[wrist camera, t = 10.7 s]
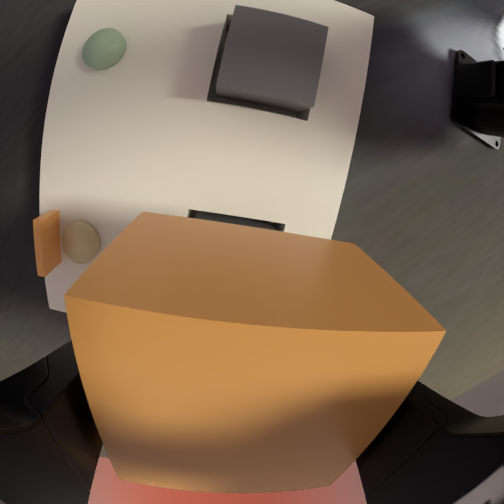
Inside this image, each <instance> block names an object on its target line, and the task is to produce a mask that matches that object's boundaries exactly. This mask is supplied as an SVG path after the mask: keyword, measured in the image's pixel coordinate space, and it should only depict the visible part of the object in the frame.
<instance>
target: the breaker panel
mask: <svg viewBox="0 0 504 504" xmlns="http://www.w3.org/2000/svg"><path fill="white" fill-rule="evenodd" d="M236 5H240V6H247V7H252V8H258V9H263V10H268V11H273V12H277V13H281V14H286V15H290V16H293V17H297V18H301V19H304V20H308V21H311V22H315V23H318V24H321V25H324V26H327V27H329V28H328V34H327V40H326V45H325V51H324V57H323V62H322V68H321V73H320V78H319V84H318V89H317V94H316V99H315V104H314V107H313V108H309V109H306V110H304V111H301V112H298V113H294V112H290V111H286V110H281V109H277V108H272V107H267V106H263V105H258V104H252V103H247V102H242V101H236V100H230V99H223V98H217V94H216V82H217V78H218V73H219V69H220V65H221V60H222V56H223V52H224V48H225V44H226V40H227V36H228V32H229V28H230V24H231V20H232V16H233V13H234V9H235V6H236ZM373 23H374V16H372V15H370V14H368V13H365V12H363V11H361V10H358V9H356V8H353V7H351V6H348V5H345V4H343V3H340V2H337V1H334V0H77V1H76V4H75V6H74V9H73V12H72V14H71V17H70V20H69V23H68V26H67V28H66V31H65V35H64V38H63V41H62V44H61V48H60V51H59V55H58V58H57V62H56V66H55V70H54V75H53V79H52V84H51V88H50V93H49V99H48V104H47V110H46V117H45V124H44V132H43V141H42V152H41V166H40V198H39V202H40V216H39V217H37V218H35V219H34V220H33V232H34V245H35V256H36V265H37V273H38V276H41V277H45V284H46V291H47V297H48V303H49V308H50V309H53V310H57V311H61V312H65V313H67V312H66V306H65V299H64V294H65V293H66V292H67V291H68V290H69V288H70V287H71V286H72V285H73V284H74V283H75V281H76V280H77V279H78V278H79V277H80V276H81V275H82V274H83V272H84V271H85V270H86V269H87V268H88V267H89V266H90V265H91V264H92V262H93V261H94V260H95V259H96V258H97V257H98V256H99V255H100V254H101V253H102V252H103V251H104V250H105V249H106V248H107V246H108V245H109V244H110V243H111V242H112V241H113V240H114V239H115V238H116V237H117V236H118V235H119V234H120V233H121V232H122V231H123V230H124V229H125V228H126V227H127V226H128V225H129V224H130V223H131V222H132V221H133V220H134V219H135V218H136V217H137V216H138V215H139V214H140V213H142V212H151V213H159V214H166V215H174V216H181V217H188V218H196V215H197V212H198V211H205V212H212V213H219V214H226V215H232V216H239V217H245V218H252V219H258V220H264V221H270V222H271V223H272V224H273V226H274V228H275V229H276V231H282V232H288V233H294V234H300V235H306V236H312V237H318V238H324V239H330V240H331V237H332V233H333V230H334V226H335V222H336V219H337V215H338V211H339V207H340V203H341V199H342V195H343V191H344V187H345V183H346V178H347V174H348V170H349V165H350V161H351V156H352V152H353V147H354V142H355V137H356V132H357V127H358V122H359V117H360V112H361V106H362V101H363V95H364V89H365V83H366V76H367V70H368V63H369V56H370V49H371V41H372V32H373Z"/></svg>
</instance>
